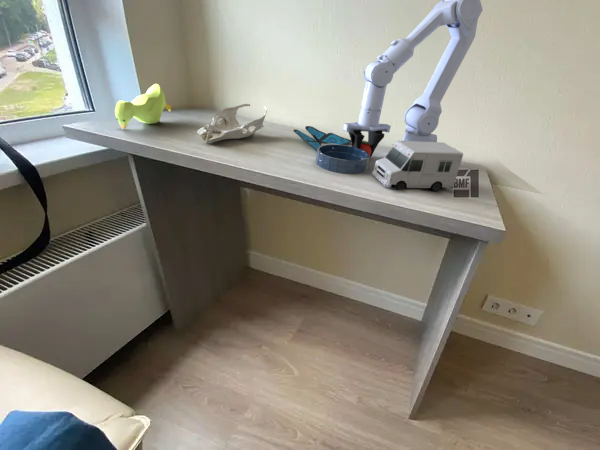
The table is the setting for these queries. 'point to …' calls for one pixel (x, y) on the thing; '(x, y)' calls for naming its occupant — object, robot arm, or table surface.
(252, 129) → the anatomical model
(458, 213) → the table surface
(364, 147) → the tomato
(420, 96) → the robot arm
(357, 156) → the bowl
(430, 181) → the toy truck
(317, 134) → the decorative butterfly
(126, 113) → the toy
